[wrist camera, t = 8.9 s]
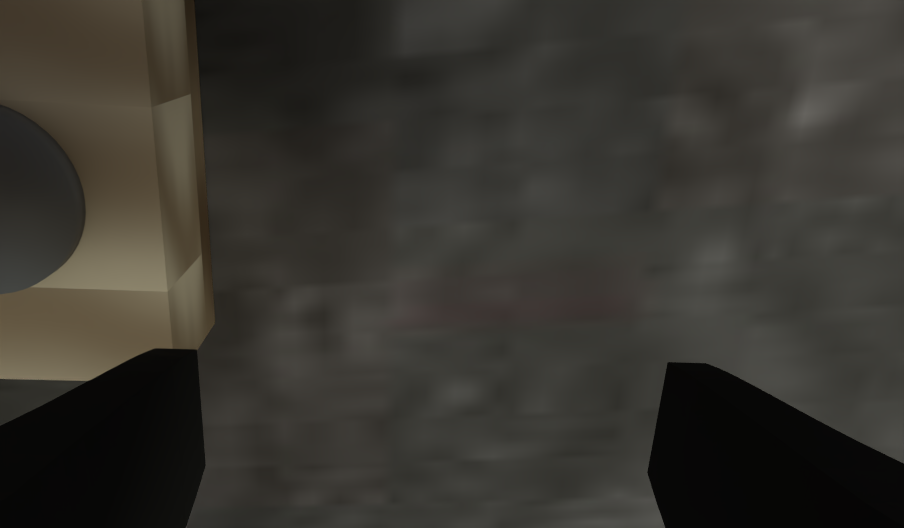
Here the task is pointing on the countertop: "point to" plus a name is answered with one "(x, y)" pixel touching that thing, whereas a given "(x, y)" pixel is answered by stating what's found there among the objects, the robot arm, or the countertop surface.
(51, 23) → the bore block
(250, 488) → the countertop surface
